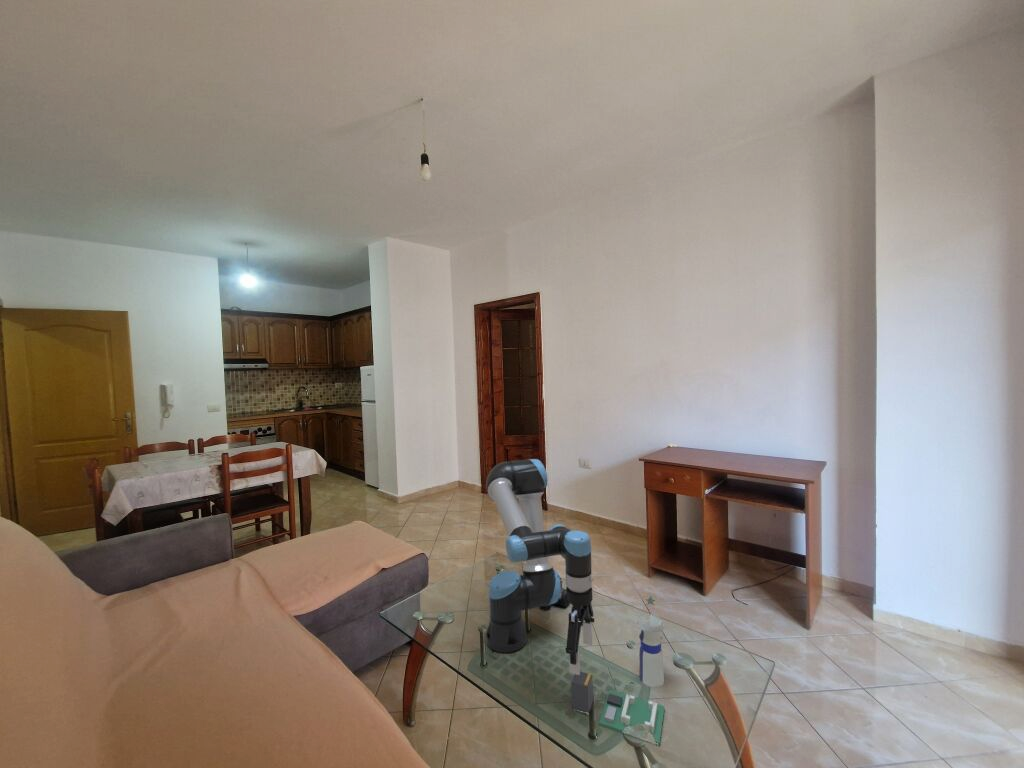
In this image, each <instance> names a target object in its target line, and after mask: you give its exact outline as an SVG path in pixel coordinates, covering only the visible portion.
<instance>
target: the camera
mask: <svg viewBox="0 0 1024 768" xmlns="http://www.w3.org/2000/svg"><path fill="white" fill-rule="evenodd" d="M559 578H560V583H561V592H560V597H559V599H558V601H557V602H556V603H554V604H550V605H548V606H541V607H539V609H540V611H542V612H543V611H544V612H545V611H548V610H549V609H551V608H552V607H553V606H559V607H560V606H561V607H569V605H570V604H571V603H570V602H568V600H567V595H566V588H563V580H562V578H561V577H560V575H559Z"/></svg>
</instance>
